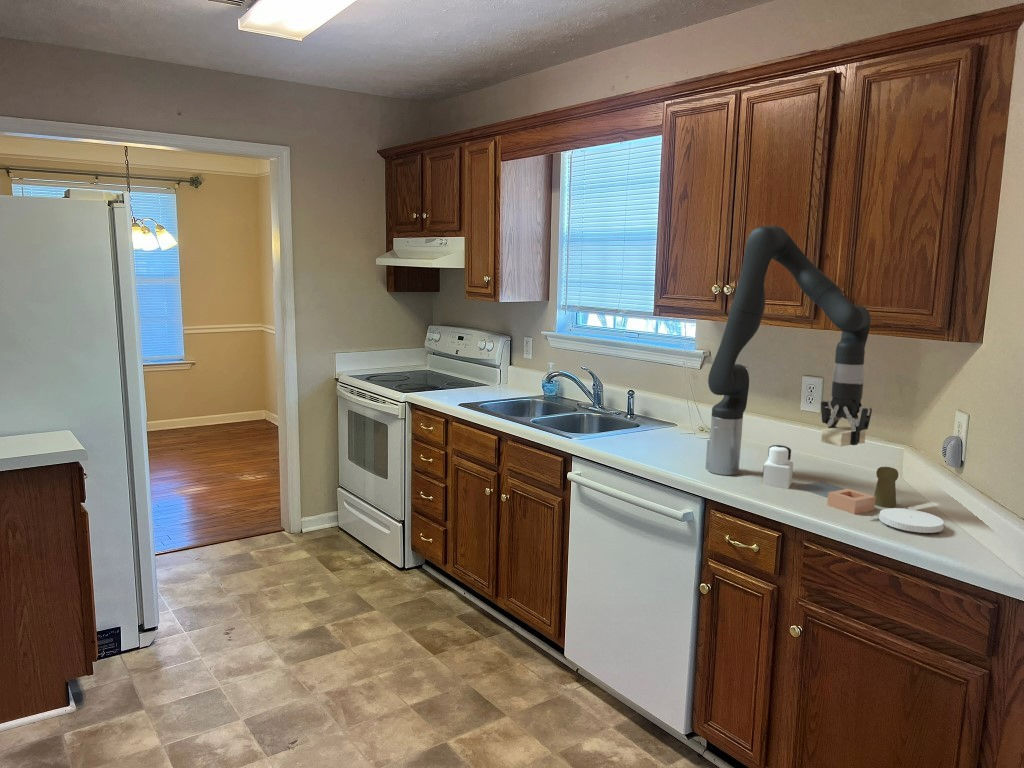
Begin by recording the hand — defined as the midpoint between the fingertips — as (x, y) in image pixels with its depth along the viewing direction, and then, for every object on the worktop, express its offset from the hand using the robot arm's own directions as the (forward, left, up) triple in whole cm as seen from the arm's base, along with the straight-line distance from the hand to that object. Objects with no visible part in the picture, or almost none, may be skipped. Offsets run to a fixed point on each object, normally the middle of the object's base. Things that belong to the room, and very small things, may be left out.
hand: (843, 442), depth 201 cm
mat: (-6, +3, -16) cm, 18 cm away
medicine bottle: (-16, -5, -16) cm, 24 cm away
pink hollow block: (+8, -5, -16) cm, 19 cm away
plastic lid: (+22, -1, -17) cm, 27 cm away
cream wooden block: (0, 0, 0) cm, 0 cm away
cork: (+10, +6, -16) cm, 20 cm away
